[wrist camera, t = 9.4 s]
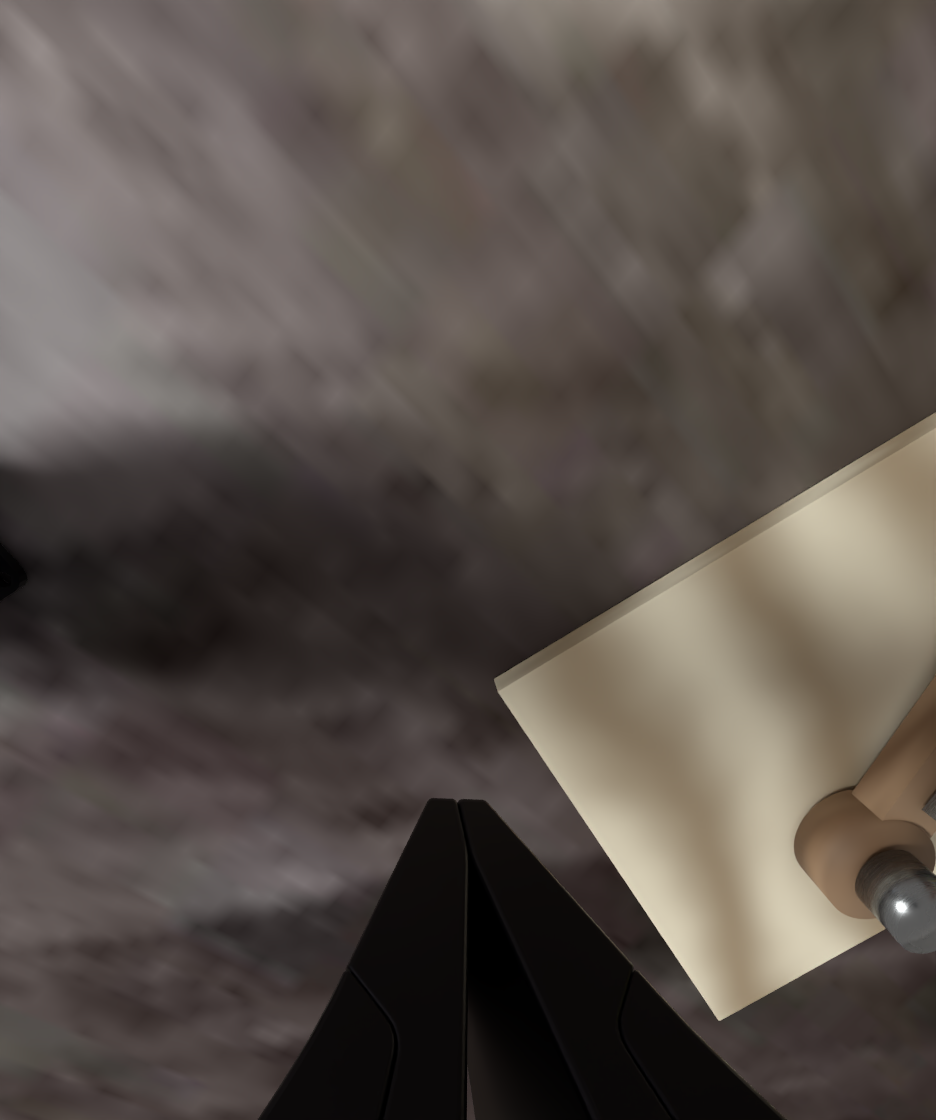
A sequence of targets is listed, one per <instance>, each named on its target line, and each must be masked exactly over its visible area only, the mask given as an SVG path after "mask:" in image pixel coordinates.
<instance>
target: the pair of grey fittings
mask: <svg viewBox="0 0 936 1120" xmlns="http://www.w3.org/2000/svg"><path fill="white" fill-rule="evenodd" d="M922 810H923V811H924V812H925V813H927V814H928V815H929V816H930V817H932V818H933V819H934V820H935V821H936V793H935V794H934V795H933V797H932V798H931V799H930V800H929V801H928V803H927V804H926V805H925V806H924V807H923V809H922ZM855 892H856V895H857V896H858V898H859V899H860V900H861V902H862V903H863V904H864V905H865V906H866V907H867V908H868V909H869V910H870V912H871V913H872V914H873V915H874V916H875V917H876V918H877V919H878V920H879V921H880V923H881V924H882V925H883V926H884V927H885V928H886V929H887V930H888V931H889V933H890V934H891V935H892V936H893V937H894V938H895V939H896V940H897V941H898V942H899V944H900V945H901V946H902V947H903V948H904V949H906V950H908V951H910V952H913V953H930V952H934V951H936V875H935V874H934V873H933V872H932V871H931V870H930V869H928V868H927V867H926V866H925V865H924V864H923V863H922V862H921V861H920V860H919V859H917V858H916V857H915V856H914V855H913V854H912V853H910V852H908V851H905V850H889V851H885V852H882V853H880V854H878V855H876V856H874V857H873V858H871V859H870V860H869V861H868V862H867V863H866V864H865V865H864V866H863V867H862V868H861V870H860V871H859V873H858V875H857V878H856V881H855Z"/></svg>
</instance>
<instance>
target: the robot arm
mask: <svg viewBox="0 0 936 1120" xmlns="http://www.w3.org/2000/svg"><path fill="white" fill-rule="evenodd" d="M2 572H4V573H6V574H8V575H9V576H10V578H11V583H7V582H6V581H4V579H3V578H2ZM26 581H27V575H26V572H25V571H24V569H23V568H22V566H21V565H20V564H19V563H18V562H17V561H16V560H15V559H14V558H13V556H12V555H11V554H10V553H9V552H8V551H7V550H6V549H5V548H4V546H3V545H2V544H1V543H0V602H1V601H3V600H4V599H6V598H7V597H9V596H10V595H12V594H13V593H15V592H17V591H18V590H20V589H21V588H22V587H23V586H24V585H25V584H26ZM633 970H634V966H633V964H632V963H631V962H630V961H629V960H628V959H627V958H626V956H625V955H624V954H623V953H622V952H621V951H620V950H619V949H618V947H617V946H616V945H615V944H614V943H613V942H612V941H611V940H610V939H609V937H608V936H607V935H606V934H605V933H604V932H603V931H602V930H601V929H600V927H599V926H598V925H597V924H596V923H595V922H594V921H593V920H592V918H591V917H590V916H589V915H588V914H587V913H586V912H585V911H584V910H583V908H582V907H581V906H580V905H579V904H578V903H577V902H576V901H575V900H574V898H573V897H572V896H571V895H570V894H569V893H568V892H567V891H566V889H565V888H564V887H563V886H562V885H561V884H560V883H559V882H558V881H557V879H556V878H555V877H554V876H553V875H552V874H551V873H550V872H549V871H548V869H547V868H546V867H545V866H544V865H543V864H542V863H541V862H540V860H539V859H538V858H537V857H536V856H535V855H534V854H533V853H532V852H531V850H530V849H529V848H528V847H527V846H526V845H525V844H524V843H523V841H522V840H521V839H520V838H519V837H518V836H517V835H516V834H515V833H514V831H513V830H512V829H511V828H510V827H509V826H508V825H507V824H506V823H505V821H504V820H503V819H502V818H501V817H500V816H499V815H498V814H497V812H496V811H495V810H494V809H493V808H492V807H491V806H490V805H489V804H488V803H487V802H486V801H484V800H472V799H461V800H459V801H458V803H457V801H456V800H454V799H443V798H431V799H429V800H428V802H427V804H426V806H425V808H424V810H423V812H422V814H421V816H420V818H419V820H418V822H417V824H416V826H415V828H414V830H413V832H412V834H411V836H410V838H409V840H408V842H407V844H406V846H405V848H404V850H403V853H402V855H401V857H400V859H399V861H398V863H397V865H396V867H395V869H394V871H393V873H392V875H391V877H390V879H389V881H388V883H387V885H386V887H385V889H384V891H383V893H382V895H381V897H380V899H379V901H378V904H377V906H376V908H375V910H374V912H373V914H372V916H371V918H370V920H369V922H368V924H367V926H366V928H365V930H364V932H363V934H362V936H361V938H360V940H359V942H358V944H357V946H356V948H355V950H354V952H353V954H352V957H351V959H350V961H349V963H348V965H347V967H346V971H345V972H344V973H343V974H342V976H341V978H340V980H339V982H338V984H337V986H336V988H335V990H334V992H333V994H332V996H331V998H330V1000H329V1002H328V1004H327V1006H326V1008H325V1010H324V1012H323V1013H322V1015H321V1017H320V1019H319V1021H318V1023H317V1025H316V1026H315V1028H314V1030H313V1032H312V1034H311V1036H310V1038H309V1040H308V1041H307V1043H306V1044H305V1046H304V1048H303V1049H302V1051H301V1052H300V1054H299V1056H298V1057H297V1059H296V1061H295V1062H294V1064H293V1065H292V1067H291V1069H290V1070H289V1072H288V1074H287V1075H286V1077H285V1078H284V1080H283V1082H282V1083H281V1085H280V1086H279V1088H278V1089H277V1091H276V1092H275V1094H274V1096H273V1097H272V1099H271V1100H270V1102H269V1103H268V1105H267V1106H266V1108H265V1109H264V1111H263V1112H262V1114H261V1115H260V1117H259V1118H258V1120H467V1065H468V1071H469V1078H470V1085H471V1092H472V1099H473V1105H474V1112H475V1119H476V1120H787V1119H786V1118H785V1117H783V1116H782V1115H781V1114H780V1113H779V1112H778V1111H777V1110H776V1109H775V1108H774V1107H773V1106H772V1105H771V1104H770V1103H769V1102H768V1101H766V1100H765V1099H764V1098H763V1097H762V1096H761V1095H760V1094H759V1093H758V1092H757V1091H756V1090H755V1089H754V1088H753V1087H752V1086H751V1085H750V1084H748V1083H747V1082H746V1081H745V1080H744V1079H743V1078H742V1077H741V1076H740V1075H739V1074H738V1073H737V1072H736V1071H735V1070H734V1069H733V1068H732V1067H731V1066H730V1065H729V1064H728V1063H727V1062H726V1061H724V1060H723V1059H722V1058H721V1057H720V1056H719V1055H718V1054H717V1053H716V1052H715V1051H714V1050H713V1049H712V1048H711V1047H710V1046H709V1045H708V1044H707V1043H706V1042H705V1041H704V1040H703V1039H702V1038H701V1037H700V1036H699V1035H698V1034H697V1033H696V1032H695V1031H694V1030H693V1029H692V1028H691V1027H690V1026H689V1025H688V1024H687V1023H686V1022H685V1021H684V1020H683V1018H682V1017H681V1016H680V1015H679V1014H678V1013H677V1012H676V1011H675V1010H674V1009H673V1008H672V1007H671V1006H670V1005H669V1004H668V1002H667V1001H666V1000H665V999H664V998H663V997H662V996H661V995H660V994H659V993H658V992H657V991H656V990H655V988H654V987H653V986H652V985H651V984H650V983H649V982H648V981H647V979H646V978H645V977H644V976H643V975H642V974H641V973H640V972H639V971H638V970H634V971H633Z"/></svg>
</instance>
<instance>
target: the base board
mask: <svg viewBox="0 0 936 1120" xmlns="http://www.w3.org/2000/svg"><path fill="white" fill-rule="evenodd" d="M935 675H936V412H935V413H934V414H932V415H930V416H929V417H927V418H925V419H924V420H922V421H920V422H919V423H917V424H916V425H914V426H912V427H911V428H909V429H907V430H906V431H904V432H902V433H901V434H899V435H897V436H896V437H894V438H892V439H891V440H889V441H887V442H886V443H884V444H882V445H881V446H879V447H877V448H876V449H874V450H872V451H871V452H869V453H867V454H866V455H864V456H862V457H861V458H859V459H857V460H856V461H854V462H853V463H851V464H849V465H848V466H846V467H844V468H843V469H841V470H839V471H838V472H836V473H834V474H833V475H831V476H829V477H828V478H826V479H824V480H823V481H821V482H819V483H818V484H816V485H814V486H813V487H811V488H809V489H808V490H806V491H804V492H803V493H801V494H799V495H798V496H796V497H795V498H793V499H791V500H790V501H788V502H786V503H785V504H783V505H781V506H780V507H778V508H776V509H775V510H773V511H771V512H770V513H768V514H766V515H765V516H763V517H761V518H760V519H758V520H756V521H755V522H753V523H751V524H750V525H748V526H746V527H745V528H743V529H741V530H740V531H738V532H737V533H735V534H733V535H732V536H730V537H728V538H727V539H725V540H723V541H722V542H720V543H718V544H717V545H715V546H713V547H712V548H710V549H708V550H707V551H705V552H703V553H702V554H700V555H698V556H697V557H695V558H693V559H692V560H690V561H688V562H687V563H685V564H683V565H682V566H680V567H679V568H677V569H675V570H674V571H672V572H670V573H669V574H667V575H665V576H664V577H662V578H660V579H659V580H657V581H655V582H654V583H652V584H650V585H649V586H647V587H645V588H644V589H642V590H640V591H639V592H637V593H635V594H634V595H632V596H630V597H629V598H627V599H625V600H624V601H622V602H621V603H619V604H617V605H616V606H614V607H612V608H611V609H609V610H607V611H606V612H604V613H602V614H601V615H599V616H597V617H596V618H594V619H592V620H591V621H589V622H587V623H586V624H584V625H582V626H581V627H579V628H577V629H576V630H574V631H572V632H571V633H569V634H567V635H566V636H564V637H563V638H561V639H559V640H558V641H556V642H554V643H553V644H551V645H549V646H548V647H546V648H544V649H543V650H541V651H539V652H538V653H536V654H534V655H533V656H531V657H529V658H528V659H526V660H524V661H523V662H521V663H519V664H518V665H516V666H514V667H513V668H511V669H509V670H508V671H506V672H505V673H503V674H501V675H500V676H498V677H496V678H495V679H494V682H495V685H496V688H497V691H498V693H499V694H500V696H501V697H502V699H503V700H504V702H505V703H506V705H507V706H508V708H509V709H510V711H511V712H512V714H513V715H514V717H515V718H516V720H517V721H518V723H519V724H520V726H521V727H522V729H523V730H524V732H525V733H526V735H527V736H528V738H529V739H530V740H531V742H532V743H533V745H534V746H535V748H536V749H537V751H538V752H539V754H540V755H541V757H542V758H543V760H544V761H545V763H546V764H547V766H548V767H549V769H550V770H551V772H552V773H553V775H554V776H555V778H556V779H557V781H558V782H559V784H560V785H561V787H562V788H563V790H564V791H565V793H566V794H567V796H568V797H569V799H570V800H571V802H572V803H573V804H574V806H575V807H576V809H577V810H578V812H579V813H580V815H581V816H582V818H583V819H584V821H585V822H586V824H587V825H588V827H589V828H590V830H591V831H592V833H593V834H594V836H595V837H596V839H597V840H598V842H599V843H600V845H601V846H602V848H603V849H604V851H605V852H606V854H607V855H608V857H609V858H610V860H611V861H612V863H613V864H614V865H615V867H616V868H617V870H618V871H619V873H620V874H621V876H622V877H623V879H624V880H625V882H626V883H627V885H628V886H629V888H630V889H631V891H632V892H633V894H634V895H635V897H636V898H637V900H638V901H639V903H640V904H641V906H642V907H643V909H644V910H645V912H646V913H647V915H648V916H649V918H650V919H651V921H652V922H653V924H654V925H655V927H656V928H657V929H658V931H659V932H660V934H661V935H662V937H663V938H664V940H665V941H666V943H667V944H668V946H669V947H670V949H671V950H672V952H673V953H674V955H675V956H676V958H677V959H678V961H679V962H680V964H681V965H682V967H683V968H684V970H685V971H686V973H687V974H688V976H689V977H690V979H691V980H692V982H693V983H694V985H695V986H696V988H697V989H698V991H699V992H700V993H701V995H702V996H703V998H704V999H705V1001H706V1002H707V1004H708V1005H709V1007H710V1008H711V1010H712V1011H713V1013H714V1014H715V1016H716V1017H717V1019H718V1020H719V1021H720V1020H722V1019H724V1018H726V1017H728V1016H729V1015H731V1014H733V1013H735V1012H737V1011H738V1010H740V1009H742V1008H744V1007H746V1006H747V1005H749V1004H751V1003H753V1002H755V1001H756V1000H758V999H760V998H762V997H764V996H765V995H767V994H769V993H771V992H773V991H774V990H776V989H778V988H780V987H782V986H783V985H785V984H787V983H789V982H791V981H792V980H794V979H796V978H798V977H800V976H801V975H803V974H805V973H807V972H808V971H810V970H812V969H814V968H816V967H817V966H819V965H821V964H823V963H825V962H826V961H828V960H830V959H832V958H834V957H835V956H837V955H839V954H841V953H843V952H844V951H846V950H848V949H850V948H852V947H853V946H855V945H857V944H859V943H861V942H862V941H864V940H866V939H868V938H870V937H871V936H873V935H875V934H877V933H879V932H880V931H882V930H884V929H886V928H885V927H884V926H883V925H882V924H881V923H880V921H879V920H878V919H877V918H875V919H857V918H852V917H849V916H847V915H845V914H843V913H841V912H840V911H838V910H837V909H836V908H835V907H834V906H833V904H832V903H831V902H830V901H829V900H828V899H827V897H826V896H825V895H824V894H823V893H822V891H821V890H820V889H819V888H818V887H817V885H816V884H815V883H814V882H813V881H812V880H811V878H810V877H809V876H808V875H807V874H806V872H805V871H804V870H803V869H802V868H801V866H800V865H799V864H798V862H797V860H796V857H795V854H794V839H795V835H796V832H797V829H798V827H799V825H800V823H801V821H802V820H803V818H804V817H805V816H806V814H807V813H808V812H809V811H810V810H811V809H812V808H813V807H814V806H815V805H817V804H818V803H819V802H821V801H822V800H824V799H825V798H827V797H829V796H831V795H833V794H836V793H839V792H842V791H846V790H854V789H855V788H856V786H857V785H858V783H859V782H860V781H861V779H862V778H863V776H864V775H865V774H866V772H867V771H868V769H869V768H870V767H871V765H872V764H873V762H874V761H875V760H876V758H877V757H878V755H879V754H880V753H881V751H882V750H883V748H884V747H885V746H886V744H887V743H888V741H889V740H890V739H891V737H892V736H893V734H894V733H895V731H896V730H897V729H898V727H899V726H900V724H901V723H902V722H903V720H904V719H905V717H906V716H907V715H908V713H909V712H910V710H911V709H912V708H913V706H914V705H915V703H916V702H917V701H918V699H919V698H920V696H921V695H922V694H923V692H924V691H925V689H926V688H927V687H928V685H929V684H930V682H931V681H932V680H933V678H934V677H935ZM930 839H931V841H932V843H933V845H934V848H935V853H936V832H935V833H934V834H933V836H932V837H931V838H930ZM933 873H934V874H935V875H936V861H935V867H934V871H933Z"/></svg>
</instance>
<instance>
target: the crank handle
mask: <svg viewBox="0 0 936 1120" xmlns="http://www.w3.org/2000/svg"><path fill="white" fill-rule="evenodd" d="M935 793H936V675H935V677H934V678H933V680H932V681H931V682H930V684H929V685H928V687H927V688H926V689H925V691H924V692H923V694H922V695H921V696H920V698H919V699H918V701H917V702H916V703H915V705H914V706H913V708H912V709H911V710H910V712H909V713H908V715H907V716H906V717H905V719H904V720H903V722H902V723H901V724H900V726H899V727H898V729H897V730H896V731H895V733H894V734H893V736H892V737H891V739H890V740H889V741H888V743H887V744H886V746H885V747H884V748H883V750H882V751H881V753H880V754H879V755H878V757H877V758H876V760H875V761H874V762H873V764H872V765H871V767H870V768H869V769H868V771H867V772H866V774H865V775H864V776H863V778H862V779H861V781H860V782H859V783H858V785H857V786H856V788H855V789H854V790H846V791H842V792H839V793H836V794H833V795H831V796H829V797H827V798H825V799H824V800H822V801H821V802H819V803H818V804H817V805H815V806H814V807H813V808H812V809H811V810H810V811H809V812H808V813H807V814H806V816H805V817H804V818H803V820H802V821H801V823H800V825H799V827H798V829H797V832H796V835H795V839H794V854H795V857H796V860H797V862H798V864H799V865H800V866H801V868H802V869H803V870H804V871H805V872H806V874H807V875H808V876H809V877H810V878H811V880H812V881H813V882H814V883H815V884H816V885H817V887H818V888H819V889H820V890H821V891H822V893H823V894H824V895H825V896H826V897H827V899H828V900H829V901H830V902H831V903H832V904H833V906H834V907H835V908H836V909H837V910H838V911H840V912H841V913H843V914H845V915H847V916H849V917H852V918H857V919H875V918H876V917H875V916H874V915H873V914H872V913H871V912H870V910H869V909H868V908H867V907H866V906H865V905H864V904H863V903H862V902H861V900H860V899H859V898H858V896H857V895H856V892H855V881H856V878H857V875H858V873H859V871H860V870H861V868H862V867H863V866H864V865H865V864H866V863H867V862H868V861H869V860H870V859H871V858H873V857H874V856H876V855H878V854H880V853H882V852H885V851H889V850H905V851H908V852H910V853H912V854H913V855H914V856H915V857H916V858H917V859H919V860H920V861H921V862H922V863H923V864H924V865H925V866H926V867H927V868H928V869H930V870H931V871H932V872H933V871H934V867H935V861H936V853H935V848H934V845H933V843H932V841H931V839H930V838H931V837H932V836H933V834H934V833H935V832H936V821H935V820H934V819H933V818H932V817H930V816H929V815H928V814H927V813H925V812H924V811H923V810H922V809H923V807H924V806H925V805H926V804H927V803H928V801H929V800H930V799H931V798H932V797H933V795H934V794H935Z"/></svg>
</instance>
